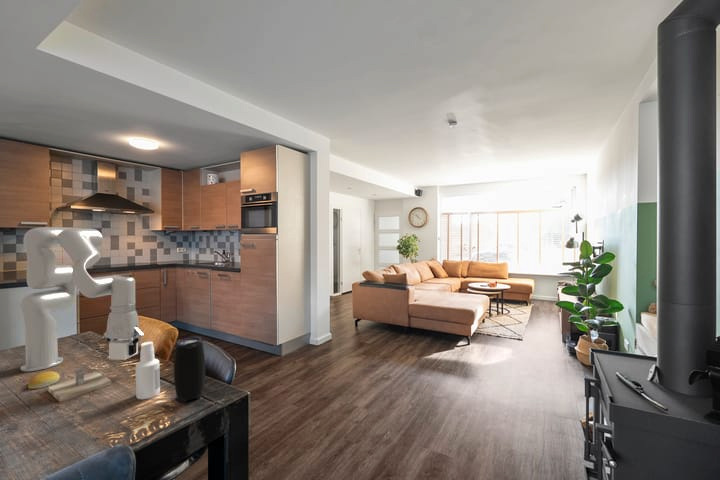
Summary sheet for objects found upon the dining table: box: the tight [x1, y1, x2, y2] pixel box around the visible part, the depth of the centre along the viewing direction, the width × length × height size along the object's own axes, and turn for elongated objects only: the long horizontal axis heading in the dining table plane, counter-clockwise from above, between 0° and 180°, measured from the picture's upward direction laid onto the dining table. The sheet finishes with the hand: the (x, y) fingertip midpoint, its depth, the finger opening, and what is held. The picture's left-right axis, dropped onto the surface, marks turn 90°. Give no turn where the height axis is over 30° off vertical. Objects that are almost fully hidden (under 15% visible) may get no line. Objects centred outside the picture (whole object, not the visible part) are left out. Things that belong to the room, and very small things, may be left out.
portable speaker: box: [173, 335, 206, 404], centre depth 105 cm, size 9×9×20 cm
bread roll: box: [27, 370, 61, 390], centre depth 116 cm, size 8×9×4 cm
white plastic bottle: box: [134, 341, 161, 400], centre depth 107 cm, size 7×7×18 cm
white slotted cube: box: [108, 338, 139, 361], centre depth 122 cm, size 6×6×6 cm
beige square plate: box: [47, 369, 112, 403], centre depth 112 cm, size 14×14×6 cm
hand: (123, 353), depth 122 cm, fingers closed on white slotted cube, 6 cm apart
